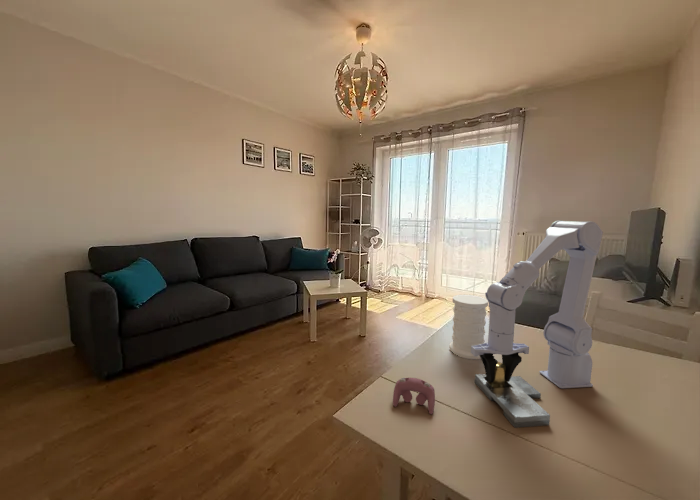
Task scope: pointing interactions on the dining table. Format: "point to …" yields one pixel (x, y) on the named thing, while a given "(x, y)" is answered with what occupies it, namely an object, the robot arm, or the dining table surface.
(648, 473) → the dining table surface
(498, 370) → the pin
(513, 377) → the lower link
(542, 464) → the dining table surface
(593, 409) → the dining table surface
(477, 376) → the upper link
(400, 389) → the video game controller
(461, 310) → the decorative container
